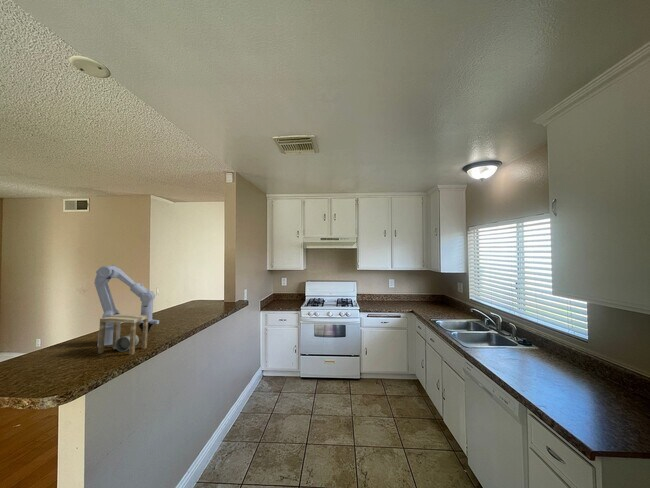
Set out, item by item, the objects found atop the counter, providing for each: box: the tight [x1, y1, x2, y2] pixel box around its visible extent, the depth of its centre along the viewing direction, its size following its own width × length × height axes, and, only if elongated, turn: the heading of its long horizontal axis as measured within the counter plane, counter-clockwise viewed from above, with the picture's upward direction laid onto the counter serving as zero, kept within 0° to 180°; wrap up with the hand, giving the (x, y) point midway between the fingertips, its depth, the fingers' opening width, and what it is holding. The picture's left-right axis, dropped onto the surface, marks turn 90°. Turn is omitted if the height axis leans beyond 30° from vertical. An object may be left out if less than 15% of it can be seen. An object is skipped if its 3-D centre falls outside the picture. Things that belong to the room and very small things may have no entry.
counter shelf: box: [97, 313, 149, 356], centre depth 134 cm, size 10×18×18 cm, turn 88°
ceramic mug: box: [112, 333, 140, 353], centre depth 136 cm, size 11×8×8 cm
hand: (145, 335), depth 149 cm, fingers closed
